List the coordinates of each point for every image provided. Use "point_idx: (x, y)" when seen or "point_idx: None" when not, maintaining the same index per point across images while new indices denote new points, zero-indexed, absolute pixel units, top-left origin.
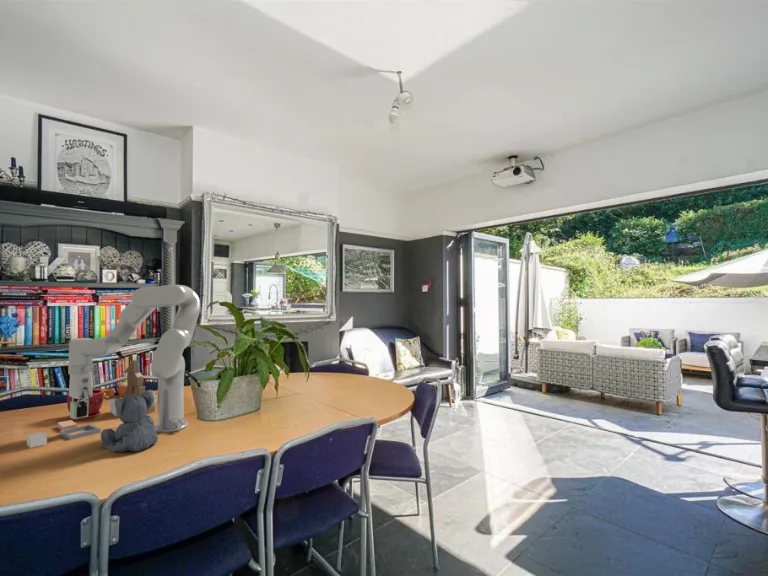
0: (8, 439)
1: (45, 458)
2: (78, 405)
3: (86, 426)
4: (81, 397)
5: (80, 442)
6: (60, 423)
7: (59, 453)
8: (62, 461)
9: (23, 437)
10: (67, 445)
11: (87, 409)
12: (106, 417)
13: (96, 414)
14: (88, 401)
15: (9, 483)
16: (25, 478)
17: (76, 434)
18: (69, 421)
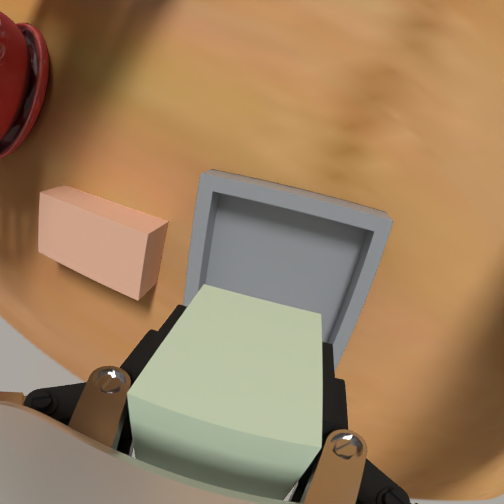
0: (66, 366)
1: (409, 451)
2: (299, 485)
3: (213, 203)
4: (110, 443)
5: (405, 344)
6: (60, 257)
7: (421, 425)
8: (479, 439)
9: (76, 347)
10: (376, 382)
11: (318, 367)
12: (85, 10)
13: (40, 48)
14: (321, 444)
15: (444, 498)
16: (458, 486)
17: (345, 346)
18: (58, 214)
